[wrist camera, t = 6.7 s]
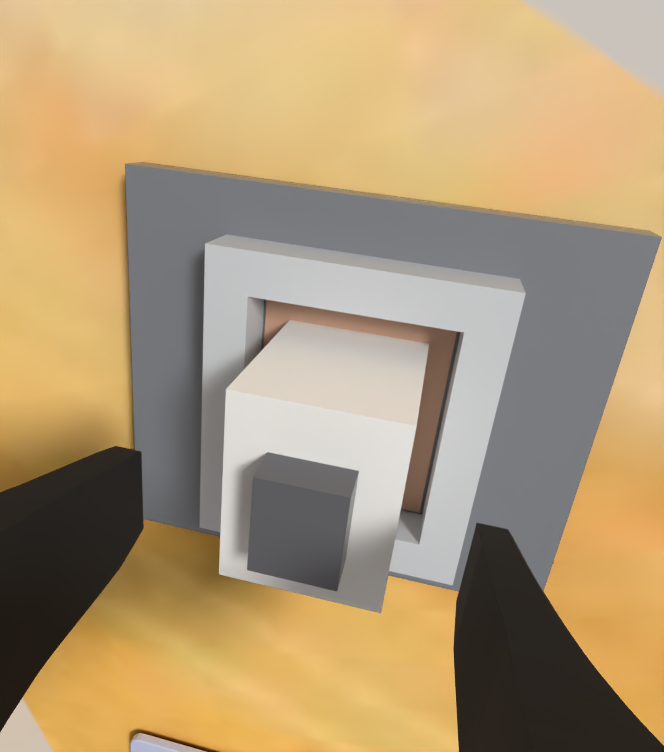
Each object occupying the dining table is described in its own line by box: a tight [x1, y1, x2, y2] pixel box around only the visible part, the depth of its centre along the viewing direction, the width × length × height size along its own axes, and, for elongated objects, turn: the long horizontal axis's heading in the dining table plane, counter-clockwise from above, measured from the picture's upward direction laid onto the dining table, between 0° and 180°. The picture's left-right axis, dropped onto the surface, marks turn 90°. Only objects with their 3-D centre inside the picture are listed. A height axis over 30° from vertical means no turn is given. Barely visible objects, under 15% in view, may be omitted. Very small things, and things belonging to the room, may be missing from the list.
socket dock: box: [125, 162, 662, 591], centre depth 17 cm, size 12×14×2 cm
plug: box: [219, 320, 429, 613], centre depth 15 cm, size 5×4×6 cm
